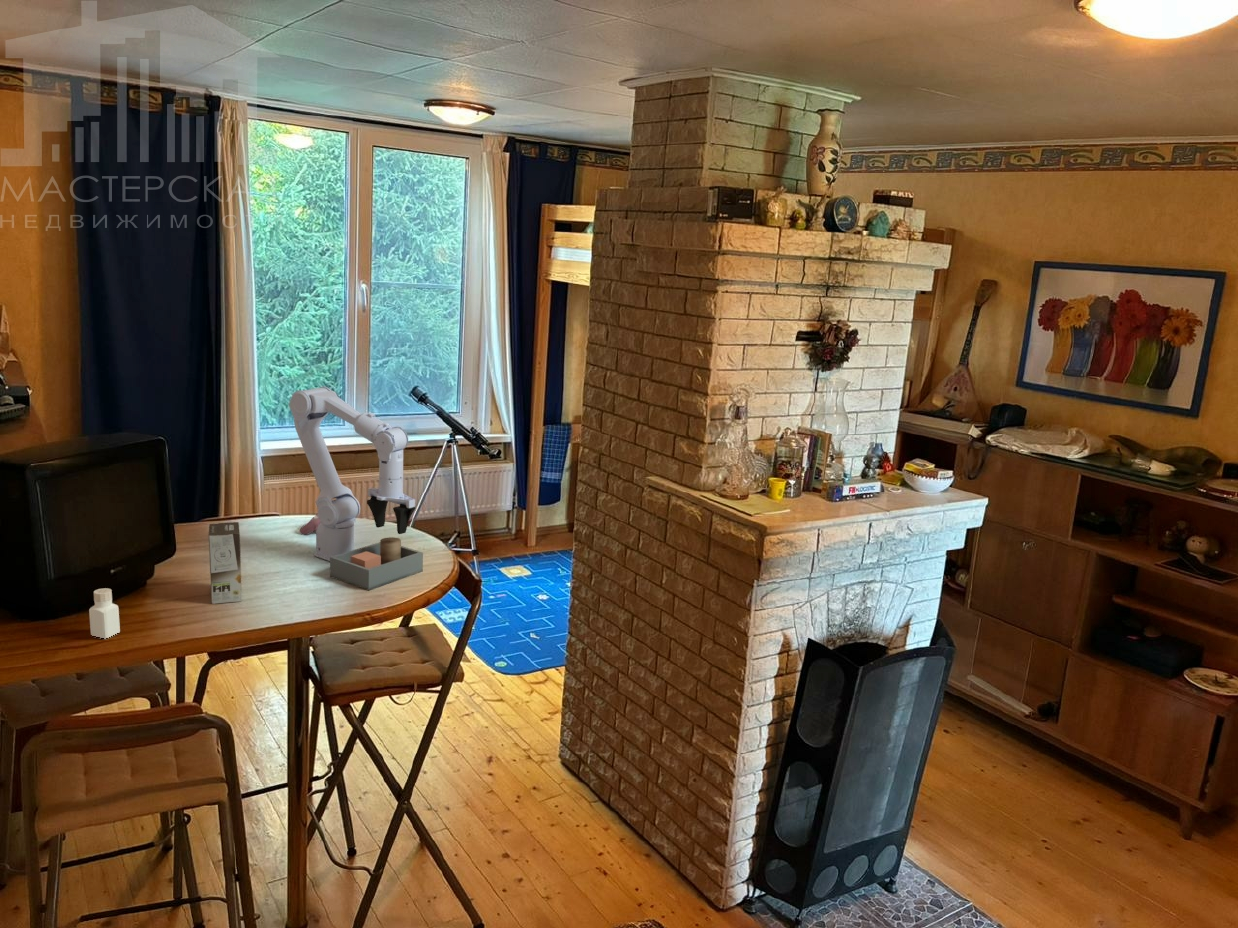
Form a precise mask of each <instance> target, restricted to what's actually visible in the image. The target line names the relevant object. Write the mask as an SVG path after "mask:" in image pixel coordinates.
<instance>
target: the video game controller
mask: <svg viewBox="0 0 1238 928" xmlns="http://www.w3.org/2000/svg"><path fill="white" fill-rule="evenodd" d="M320 523H321V521H320V520H319V517H318V512H317V513H316V514H315V515H314V516H313V517H312V518H311V519H310V520H309V521H308V522H307V523H306V524H304V525H302V526H301V528H300V530H299V533H300V534H301V535H302V534H305V535H310V534H311V533H315V534H316V530H317V528H318V526H319V524H320ZM305 535H304V536H305Z"/></svg>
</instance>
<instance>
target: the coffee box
mask: <svg viewBox="0 0 1238 928" xmlns="http://www.w3.org/2000/svg"><path fill="white" fill-rule="evenodd" d="M239 523H240V522H239V521H234V522H232V521H230V522H229V521H228V522H218V523H209V525H208V526H209V527H208V548H209V549H208V550H209V551H208V552H209V555H208V556H209V572H210V573H209V574H210V577H209V578H210V589H211V590H210V592H211V593H210V594H211V595H210V596H211V604H213V605H214V604H215V605H217V604H225V603H227V604H228V603H236V602H237V603H239V602H241V601H242V559H241V558H242V557H241V555H242V554H241V535H240V534H241V533H240V524H239Z"/></svg>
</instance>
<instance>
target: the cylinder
mask: <svg viewBox="0 0 1238 928" xmlns="http://www.w3.org/2000/svg"><path fill="white" fill-rule="evenodd" d="M379 542H380V556H381V565H382V564H385V563H388V562H391V561H394V560H397V559H400V558H401V546H402V540H401V539H400V538H398V537H390V536H389V537H384V538H381V539H380V541H379Z"/></svg>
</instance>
